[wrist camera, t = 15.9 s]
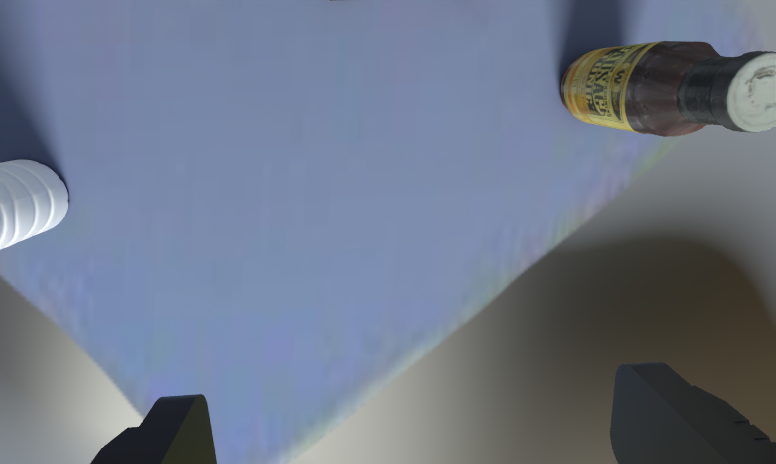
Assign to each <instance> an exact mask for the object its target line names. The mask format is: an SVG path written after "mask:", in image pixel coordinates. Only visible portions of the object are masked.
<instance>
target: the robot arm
mask: <svg viewBox="0 0 776 464" xmlns="http://www.w3.org/2000/svg"><path fill="white" fill-rule="evenodd" d="M610 438H611V444H612V449H613V452H614V455H615V457H616V460H617V462H618V464H776V443H775V442H771V441H770V439H769V437H768V436H767V435H766V434H764V433H763V432H762V431H761V430H760V429H759V428H757V427H756V426H755V425H750V423H749V420H748V419H746V418H745V417H744V416H743V415H741V414H740V413H739V412H738V411H737V410H735V409H734V408H733V407H732V406H730V405H729V404H728V403H727V402H726V401H724V400H722V399H720V398H718V397H716V396H714V395H712V394H710V393H708V392H706V391H704V390H702V389H700V388H699V387H697V386H691V385H690V384H689V383H688V382H687V381H686V380H684V379H683V378H682V377H681V376H680V375H679V374H677V373H676V372H675V371H674V370H673V369H672V368H670V367H669V366H668V365H667V364H665V363H663V362H647V363H632V364H622V365H620V366H619V367H618V369H617V372H616V377H615V387H614V398H613V408H612V418H611V428H610ZM90 464H217V461H216V454H215V448H214V442H213V436H212V430H211V423H210V417H209V411H208V405H207V401H206V399H205V397H204V395H202V394H199V395H184V396H170V397H161V398H159V399H158V400H157V401H156V402H155V404H154V405H153V407H152V408H151V410H150V411H149V413H148V414H147V416H146V417H145V419H144V420H143V422H142V423H141V425H140V426H139V427H132V428H127V429H126V430H124V431H123V432H122V433H121V434H119V435H118V436H117V437H115V438H114V439H113V440H112V441H110V442H109V443H108V444H107V445H105V446H104V447H103V448H101V450H100V451H99V452H98V454H97V455H96V456H95V458H94V459H93V461H92V462H91V463H90Z"/></svg>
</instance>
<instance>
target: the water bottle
mask: <svg viewBox="0 0 776 464" xmlns="http://www.w3.org/2000/svg"><path fill="white" fill-rule="evenodd" d="M67 200H68V193H67V190H66V187H65V185H64V183H63V182H62V181H61V180H60V179H59V176H58V175H57V174H56V173H55V172H54V171H53V170H51V169H50V168H49V167H47V166H45V165H43V164H39V163H38V162H36V161H32V160H12V161H7V162H2V163H0V250H1V249H2V248H5V247H8V246H11V245H13V244H15V243H17V242H19V241H22V240H25V239H27V238H29V237H31V236H34V235H37V234H39V233H42V232H44V231H46V230H49V229H51V228H53V227H54V226H56V225H57V224H59V223H60V221H61V220H62V219H63V218H64V216H65V215H66V212H67V209H68V201H67Z"/></svg>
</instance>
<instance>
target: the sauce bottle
mask: <svg viewBox="0 0 776 464" xmlns="http://www.w3.org/2000/svg"><path fill="white" fill-rule="evenodd" d="M561 96H562V103H563V105H564V106H565V107H566V109H567V110H568V111H569V112H570V113H571V114H572V115H573V116H575V117H576V118H578V119H579V120H581V121H583V122H586V123H591V124H596V125H601V126H607V127H612V128H617V129H622V130H628V131H632V132H637V133H643V134H654V135H659V136H664V137H667V136H681V135H686V134H689V133H692V132H695V131H697V130H700V129H702V128H703V127H704V126H706V125H711V124H714V125H722V126H724V127H725V128H727V129H730V130H733V131H740V132H762V131H766V130H769V129H771V128H773V127H776V52H767V51H764V52H762V51H754V52H749V53H745V54H743V55H741V56H739V57H723V56H720V55H719V54H718V53H717V52H716V51H715V50H714V49H713V47H712V46H711V45H710V44H708V43H705V42H674V41H661V42H652V43H643V44H635V45H627V46H619V47H610V48H602V49H596V50H593V51H590V52H588V53H586V54H584V55H581V56H579V57H578V58H577V59H576V60H575V61H573V63H572V64H571V65H570V66H569V67H568V69H567V70H566V71H565V74H564V76H563V77H562V82H561Z"/></svg>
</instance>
